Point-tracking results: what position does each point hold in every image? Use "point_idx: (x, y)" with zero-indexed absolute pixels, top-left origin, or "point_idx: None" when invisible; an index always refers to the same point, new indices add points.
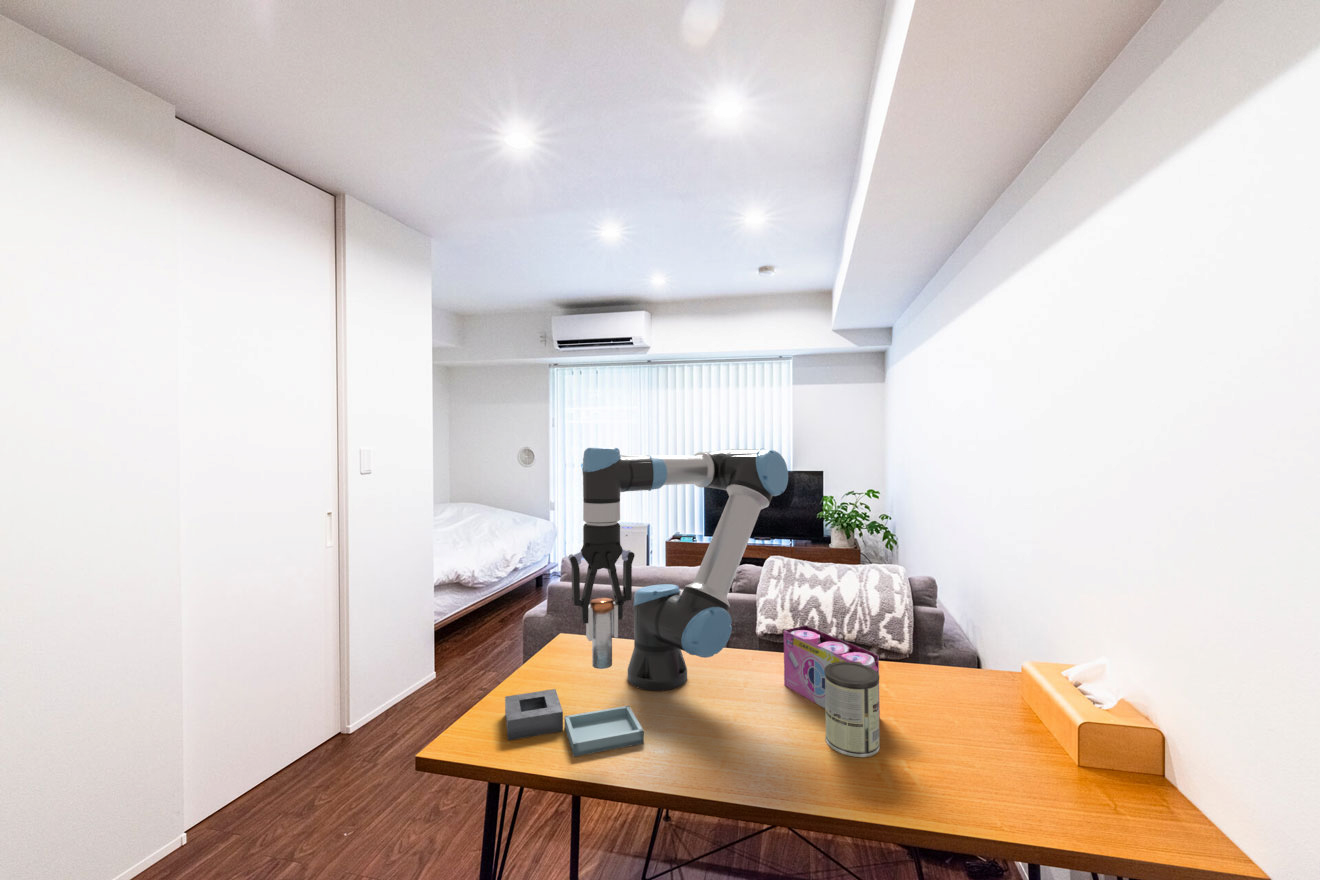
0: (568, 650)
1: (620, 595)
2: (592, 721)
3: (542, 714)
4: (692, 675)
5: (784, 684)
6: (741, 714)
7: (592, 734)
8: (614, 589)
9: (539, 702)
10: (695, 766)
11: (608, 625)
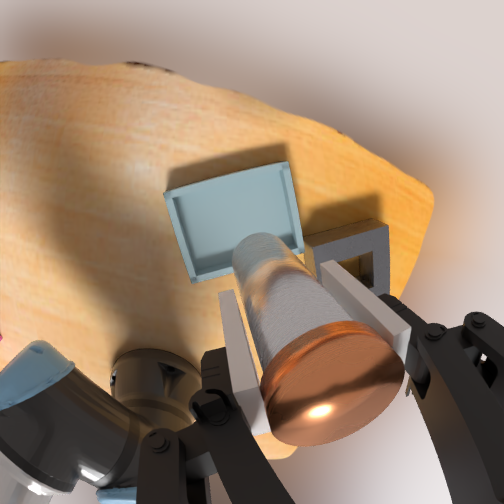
0: None
1: (221, 453)
2: None
3: (343, 239)
4: (107, 383)
5: (1, 337)
6: (31, 270)
7: (254, 212)
8: (283, 486)
9: None
10: (94, 127)
11: (271, 300)
